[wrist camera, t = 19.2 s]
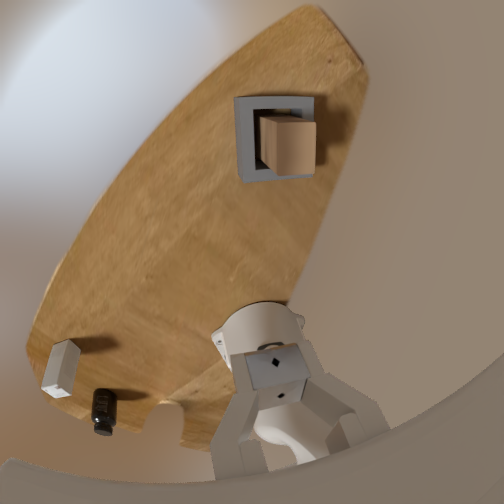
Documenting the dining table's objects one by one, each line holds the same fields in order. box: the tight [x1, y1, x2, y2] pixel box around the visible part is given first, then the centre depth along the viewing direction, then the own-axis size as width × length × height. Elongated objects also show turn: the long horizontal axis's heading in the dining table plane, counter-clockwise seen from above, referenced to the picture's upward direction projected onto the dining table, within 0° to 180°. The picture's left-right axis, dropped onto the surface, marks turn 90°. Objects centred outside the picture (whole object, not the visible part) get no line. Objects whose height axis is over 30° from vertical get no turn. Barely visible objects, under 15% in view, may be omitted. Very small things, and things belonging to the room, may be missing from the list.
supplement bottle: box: [91, 389, 117, 436], centre depth 53 cm, size 7×7×12 cm
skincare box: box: [41, 339, 81, 398], centre depth 41 cm, size 6×4×12 cm
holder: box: [234, 96, 314, 183], centre depth 32 cm, size 10×9×4 cm
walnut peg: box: [254, 114, 316, 176], centre depth 30 cm, size 4×6×10 cm
